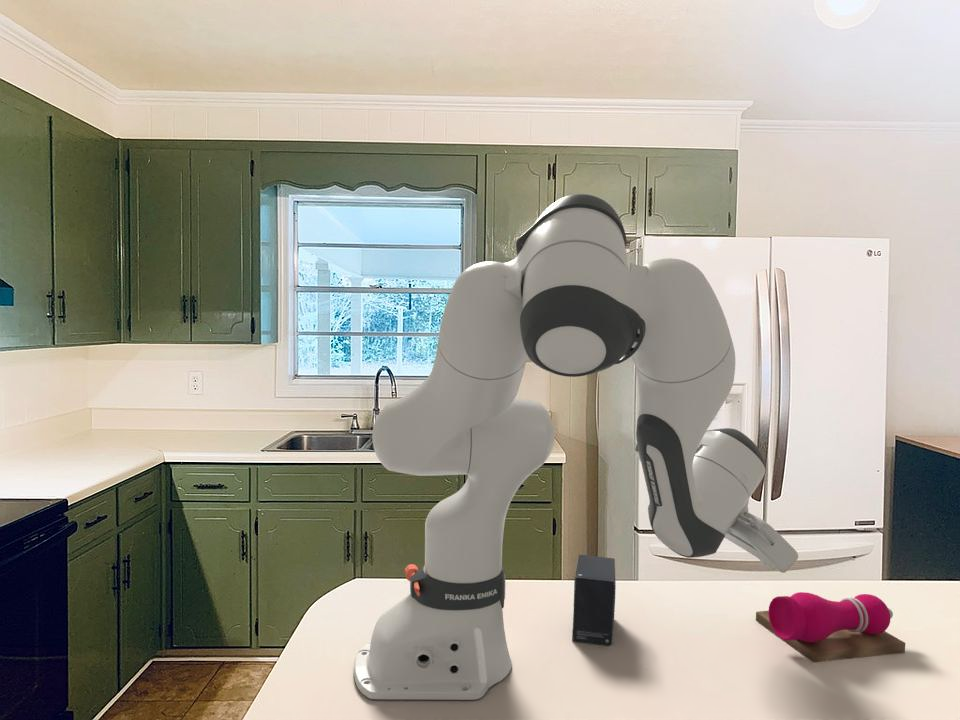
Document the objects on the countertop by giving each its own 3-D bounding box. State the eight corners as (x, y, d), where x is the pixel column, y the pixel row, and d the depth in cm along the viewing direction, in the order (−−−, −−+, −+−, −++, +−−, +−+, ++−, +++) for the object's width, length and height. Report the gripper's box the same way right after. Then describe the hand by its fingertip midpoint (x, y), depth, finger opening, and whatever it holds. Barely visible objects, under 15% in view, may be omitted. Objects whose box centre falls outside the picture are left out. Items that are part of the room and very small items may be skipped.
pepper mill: (787, 655, 101) (899, 648, 106) (803, 618, 98) (917, 612, 103) (760, 618, 108) (866, 613, 112) (774, 582, 105) (882, 579, 110)
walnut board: (812, 662, 101) (813, 652, 100) (755, 620, 114) (756, 611, 114) (904, 652, 104) (905, 643, 104) (838, 612, 118) (838, 604, 117)
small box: (614, 647, 104) (615, 580, 104) (571, 642, 106) (572, 576, 105) (614, 617, 115) (616, 556, 114) (575, 613, 116) (577, 553, 115)
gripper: (771, 508, 94) (831, 573, 96) (698, 473, 114) (750, 528, 116) (740, 541, 93) (801, 606, 95) (672, 500, 113) (724, 555, 116)
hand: (772, 563), depth 106 cm, fingers closed
